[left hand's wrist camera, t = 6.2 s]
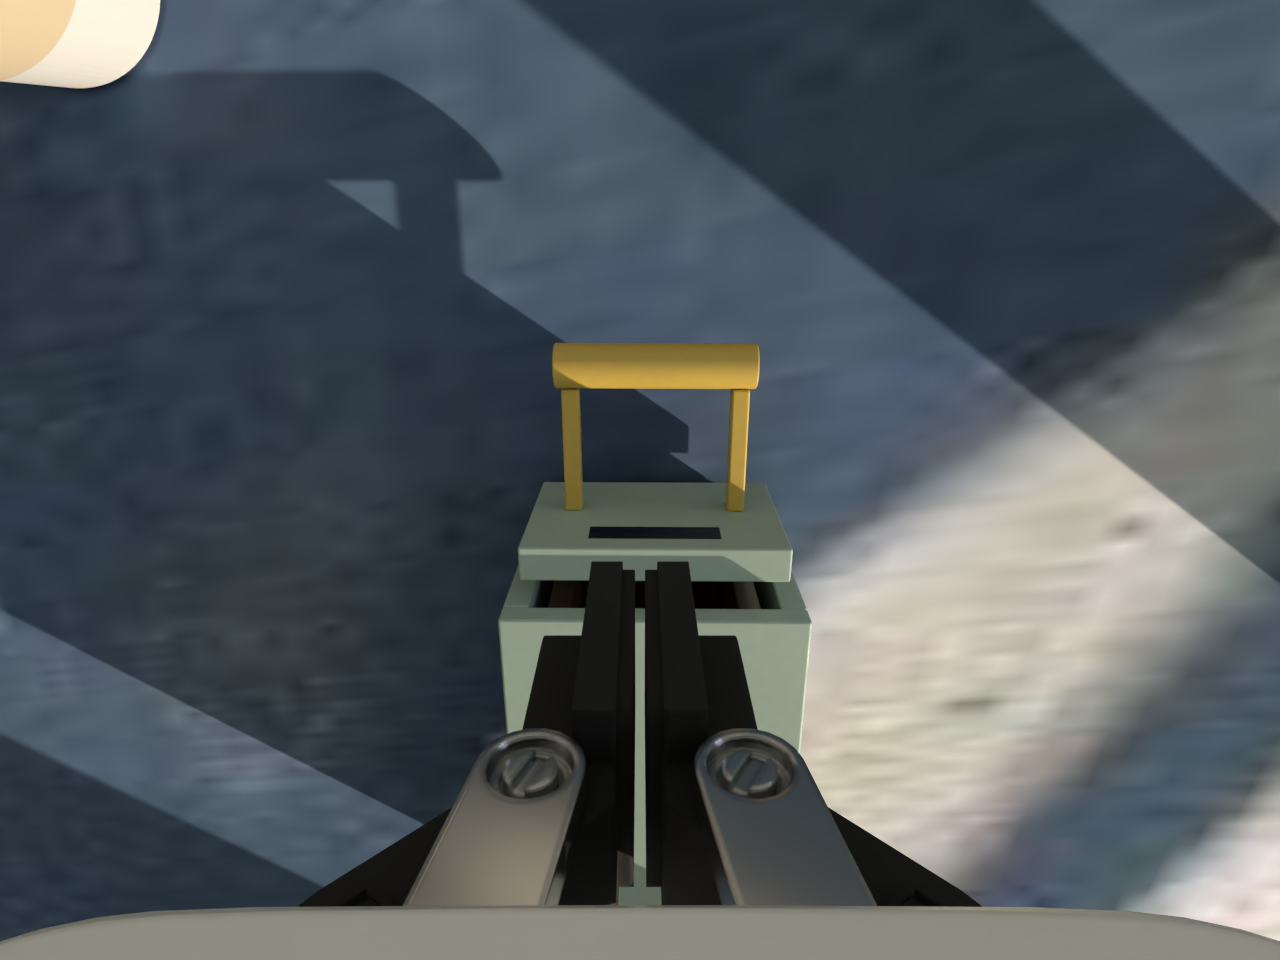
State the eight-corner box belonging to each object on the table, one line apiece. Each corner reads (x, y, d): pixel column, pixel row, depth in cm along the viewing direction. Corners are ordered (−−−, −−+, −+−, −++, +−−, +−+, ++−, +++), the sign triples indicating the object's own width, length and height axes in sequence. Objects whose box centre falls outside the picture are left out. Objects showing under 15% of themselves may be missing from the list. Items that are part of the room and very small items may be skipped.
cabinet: (534, 520, 31) (497, 620, 23) (773, 521, 31) (812, 622, 23) (554, 891, 38) (531, 1058, 31) (747, 894, 38) (771, 1061, 31)
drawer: (535, 330, 27) (505, 362, 21) (775, 330, 27) (808, 363, 21) (561, 859, 36) (545, 981, 30) (740, 861, 36) (758, 984, 30)
